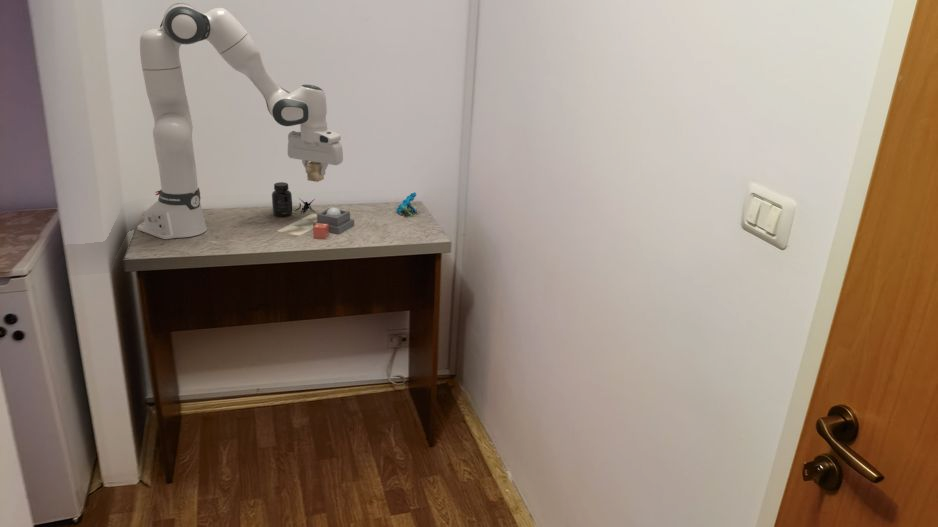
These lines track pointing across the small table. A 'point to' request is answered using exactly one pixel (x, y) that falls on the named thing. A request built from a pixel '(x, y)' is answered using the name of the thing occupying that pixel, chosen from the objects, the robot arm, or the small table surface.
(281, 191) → the supplement bottle
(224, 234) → the small table surface
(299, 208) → the creature
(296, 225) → the board
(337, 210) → the dome
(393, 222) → the small table surface
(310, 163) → the pawn
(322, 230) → the die
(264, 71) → the robot arm
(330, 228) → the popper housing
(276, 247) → the small table surface
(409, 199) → the blue lobed plastic figure
